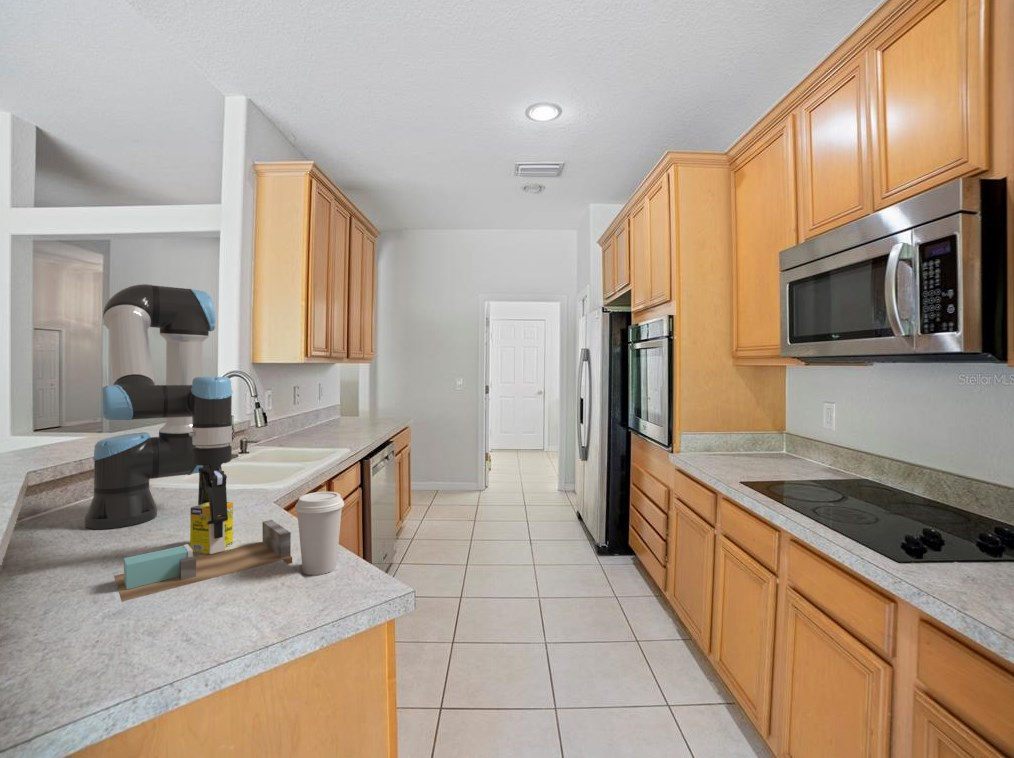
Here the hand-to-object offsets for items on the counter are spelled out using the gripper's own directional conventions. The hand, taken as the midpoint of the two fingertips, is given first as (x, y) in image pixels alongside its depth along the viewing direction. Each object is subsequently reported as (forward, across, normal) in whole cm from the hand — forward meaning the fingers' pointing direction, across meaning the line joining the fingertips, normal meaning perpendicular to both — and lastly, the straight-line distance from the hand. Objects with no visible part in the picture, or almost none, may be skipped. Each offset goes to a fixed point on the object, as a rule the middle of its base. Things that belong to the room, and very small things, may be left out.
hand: (212, 546), depth 104 cm
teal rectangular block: (0, +11, -11) cm, 15 cm away
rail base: (+1, +11, -3) cm, 11 cm away
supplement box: (+2, 0, 0) cm, 2 cm away
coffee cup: (+2, +25, +14) cm, 29 cm away
